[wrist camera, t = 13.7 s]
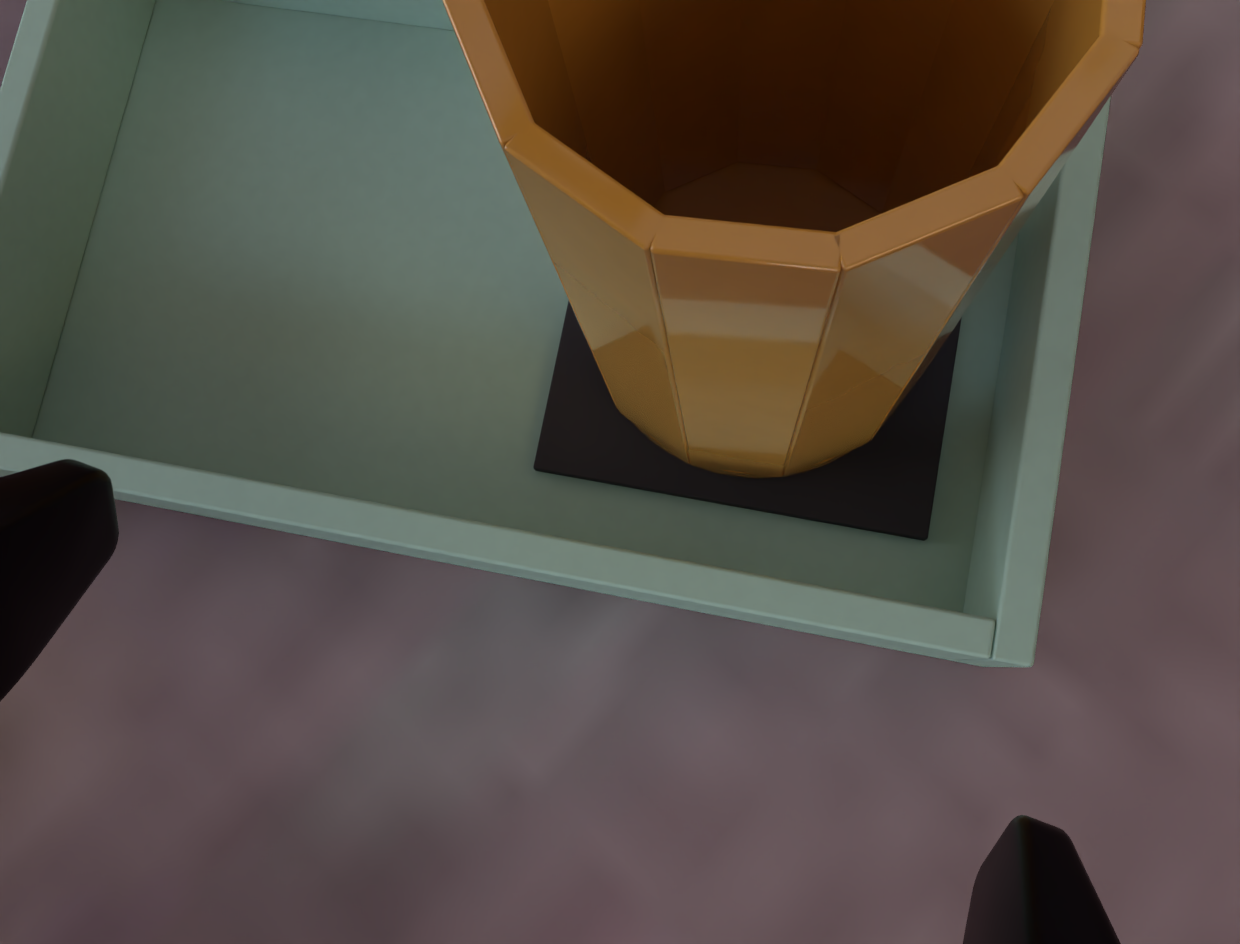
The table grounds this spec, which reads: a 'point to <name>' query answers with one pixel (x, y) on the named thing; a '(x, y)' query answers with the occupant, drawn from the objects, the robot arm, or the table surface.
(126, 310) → the green tray
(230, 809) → the table surface
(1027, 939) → the robot arm
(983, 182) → the cup
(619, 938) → the table surface
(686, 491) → the mat
